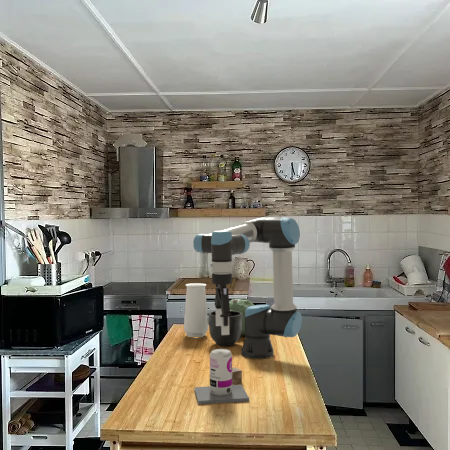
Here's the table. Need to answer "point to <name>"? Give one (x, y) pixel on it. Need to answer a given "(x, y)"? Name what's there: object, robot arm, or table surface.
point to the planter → (234, 329)
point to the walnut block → (236, 376)
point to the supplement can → (220, 372)
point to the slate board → (208, 398)
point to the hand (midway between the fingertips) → (222, 330)
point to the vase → (195, 310)
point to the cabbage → (240, 309)
